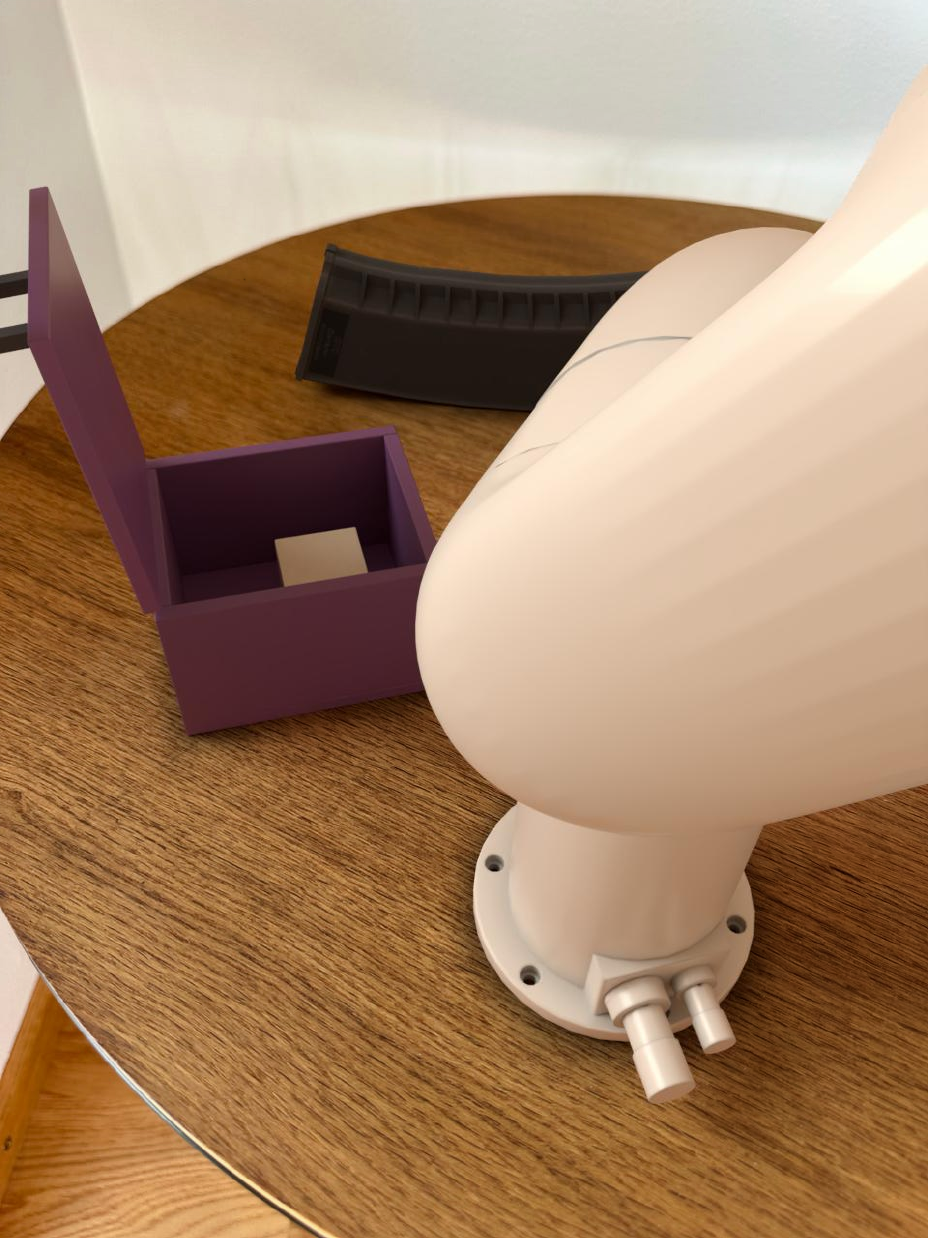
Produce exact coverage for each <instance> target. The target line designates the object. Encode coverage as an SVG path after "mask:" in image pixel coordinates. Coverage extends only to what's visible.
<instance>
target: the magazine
mask: <svg viewBox="0 0 928 1238" xmlns="http://www.w3.org/2000/svg"><path fill="white" fill-rule="evenodd" d="M323 256H324V260H323V264H322V268H321V272H320V276H319V279H318V283H317V287H316V290H315V295H314V299H313V303H312V308H311V312H310V316H309V319H308V324H307V327H306V332H305V335H304V336H305V337H304V341H303V344H302V348H301V352H300V355H299V358H298V361H297V364H296V366H295V367H296V368H295V372H294V375H295V376H294V380H295V381H298V382H303V381H308V382H309V381H310V382H315V383H321V384H325V385H330V386H335V387H336V386H337V387H343V388H347V389H352V390H357V391H364V392H370V393H375V394H379V395H385V396H391V397H395V398H402V399H407V400H415V401H421V402H428V403H435V404H443V405H451V406H459V407H468V408H479V409H480V408H481V409H490V410H504V411H505V410H506V411H519V412H532V411H533V410H534V409H535V407H536V404H537V403H538V401H539V400H540V399H541V397H542V396H543V395H544V393H545V392H546V390H547V389H548V388H549V386H550V385H551V384H552V382H553V381H554V380H555V378H556V377H557V376H558V374H559V373H560V372H561V371H562V369H563V368H564V367H565V365H566V364H567V363H568V362H569V360H570V359H571V358H572V356H573V355H574V354H575V352H576V351H577V350H578V349H579V347H580V346H581V345H582V343H583V342H584V340H585V339H586V338H587V336H588V335H589V334H590V332H591V331H592V330H593V329H594V328H595V326H596V325H597V324H598V323H599V321H600V320H601V319H602V318H603V317H604V315H605V314H606V313H607V312H608V311H609V310H610V308H611V307H612V306H613V305H614V304H615V303H616V302H617V301H618V300H619V298H620V297H621V296H622V295H624V294H625V293H626V292H627V291H628V290H629V289H630V288H631V287H632V286H633V285H634V284H635V283H636V282H637V281H638V280H639V279H640V278H642V277H643V276H644V275H645V274H647V273H648V272H649V271H650V270H651V269H649V270H641V271H630V272H629V271H628V272H620V273H605V274H604V273H603V274H590V275H589V274H588V275H523V274H522V275H519V274H501V273H491V272H482V271H481V272H480V271H471V270H469V271H468V270H461V269H460V270H459V269H452V268H441V267H430V266H421V265H415V264H414V265H413V264H409V263H402V262H395V261H391V260H386V259H381V258H377V257H373V256H368V255H366V254H361V253H358V252H355V251H351V250H348V249H345V248H341V247H338V245H337V244H334V243H331V242H329V243H327V244H326V248H325V250H324V255H323Z"/></svg>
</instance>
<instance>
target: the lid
mask: <svg viewBox="0 0 928 1238" xmlns="http://www.w3.org/2000/svg"><path fill="white" fill-rule="evenodd" d="M27 247H28V248H27V249H28V253H27V255H28V257H27V259H28V263H27V269H26V270H21V271H16V272H15V271H14V272H10V273H5V274H4V273H3V274H0V300H2V299H7V298H13V297H18V296H23V295H27V322H25V323H19V324H14V325H9V326H5V327H0V355H2V354H7V353H8V354H9V353H13V352H17V351H22V350H27V349H29V350H30V352H31V355H32V357H33V359H34V362H35V364H36V367H37V369H38V371H39V374H40V376H41V378H42V380H43V383H44V385H45V388H46V389H47V392H48V394H49V397H50V399H51V401H52V405H53V407H54V408H55V411H56V413H57V416H58V418H59V420H60V423H61V426H62V427H63V429H64V432H65V435H66V437H67V439H68V441H69V443H70V446H71V448H72V451H73V453H74V456H75V458H76V460H77V462H78V464H79V467H80V469H81V472H82V474H83V476H84V478H85V481H86V483H87V485H88V488H89V491H90V492H91V495H92V497H93V500H94V502H95V504H96V507H97V508H98V511H99V513H100V516H101V518H102V520H103V523H104V525H105V528H106V530H107V532H108V535H109V537H110V540H111V541H112V544H113V546H114V548H115V550H116V553H117V555H118V559H119V560H120V562H121V564H122V567H123V570H124V571H125V574H126V576H127V579H128V581H129V583H130V586H131V588H132V591H133V593H134V595H135V598H136V599H137V602H138V605H139V606H140V610H141V611H142V614H143V615H145V616H146V615H151V614H154V613H156V612H160V611H161V602H160V593H159V583H158V573H157V564H156V554H155V545H154V535H153V526H152V516H151V507H150V497H149V487H148V478H147V468H146V460H147V459H146V452H145V448H144V446H143V443H142V440H141V438H140V435H139V431H138V430H137V426H136V424H135V421H134V418H133V416H132V412H131V410H130V407H129V404H128V402H127V399H126V396H125V394H124V390H123V387H122V386H121V382H120V380H119V377H118V375H117V372H116V369H115V366H114V364H113V361H112V358H111V356H110V352H109V350H108V347H107V344H106V341H105V339H104V336H103V333H102V330H101V328H100V325H99V322H98V320H97V316H96V314H95V311H94V309H93V306H92V303H91V301H90V297H89V295H88V293H87V289H86V287H85V284H84V281H83V279H82V275H81V273H80V270H79V267H78V264H77V262H76V259H75V256H74V254H73V251H72V249H71V245H70V243H69V240H68V238H67V235H66V232H65V230H64V226H63V224H62V221H61V218H60V215H59V212H58V210H57V207H56V205H55V202H54V199H53V196H52V194H51V190H50V189H49V187H48V186H47V185H46V186H41V187H40V186H39V187H34V188H30V189H28V245H27Z"/></svg>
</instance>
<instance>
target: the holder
mask: <svg viewBox="0 0 928 1238" xmlns="http://www.w3.org/2000/svg"><path fill="white" fill-rule="evenodd" d="M146 468H147V478H148V487H149V497H150V507H151V516H152V526H153V535H154V545H155V554H156V564H157V573H158V583H159V593H160V602H161V611H160V612H156V613H153V614H154V623H155V626H156V629H157V630H156V631H157V633H158V635H159V636H158V637H159V640H160V644H161V647H162V651H163V654H164V658H165V662H166V666H167V669H168V672H169V676H170V680H171V685H172V687H173V691H174V694H175V697H176V701H177V705H178V709H179V712H180V716H181V719H182V723H183V726H184V731H185V733H186V736H189V737H190V736H194V735H199V734H204V733H209V732H215V731H220V730H225V729H230V728H236V727H240V726H245V725H253V724H256V723H262V722H267V721H272V720H278V719H283V718H288V717H294V716H299V715H304V714H309V713H315V712H320V711H325V710H329V709H330V710H331V709H335V708H340V707H346V706H351V705H356V704H360V703H366V702H371V701H377V700H382V699H388V698H393V697H399V696H402V695H403V696H404V695H408V694H414V693H418V692H426V690H425V687H424V684H423V681H422V678H421V673H420V669H419V664H418V659H417V651H416V639H415V622H416V610H417V601H418V595H419V590H420V585H421V582H422V579H423V576H424V573H425V569H426V566H427V564H428V561H429V559H430V557H431V554H432V552H433V550H434V548H435V546H436V544H437V542H438V541H437V539H436V536H435V534H434V531H433V528H432V526H431V522H430V520H429V516H428V514H427V512H426V509H425V506H424V502H423V500H422V497H421V494H420V491H419V489H418V486H417V483H416V481H415V478H414V475H413V472H412V470H411V467H410V463H409V461H408V458H407V456H406V453H405V450H404V447H403V444H402V442H401V438H400V436H399V434H398V431H397V428H396V426H395V424H393V425H385V426H377V427H371V428H363V429H357V430H349V431H342V432H341V431H340V432H336V433H329V434H321V435H315V436H307V437H306V436H305V437H299V438H293V439H286V440H277V441H272V442H264V443H257V444H251V445H243V446H236V447H229V448H222V449H215V450H210V451H200V452H194V453H187V454H186V453H185V454H180V455H173V456H172V455H171V456H166V457H158V458H152V459H146ZM352 527H355V528H356V531H357V535H358V538H359V542H360V545H361V549H362V552H363V556H364V559H365V563H366V566H367V569H368V573H363V574H357V575H351V576H345V577H339V578H334V579H328V580H322V581H316V582H310V583H304V584H298V585H292V586H286V587H281V583H280V576H279V569H278V562H277V556H276V549H275V542H274V541H275V540H276V539H283V538H289V537H295V536H301V535H308V534H314V533H320V532H327V531H333V530H339V529H346V528H352Z"/></svg>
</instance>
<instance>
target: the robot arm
mask: <svg viewBox="0 0 928 1238" xmlns="http://www.w3.org/2000/svg"><path fill="white" fill-rule="evenodd" d="M649 270H650V271H649ZM649 270H648V271H649V272H648V273H647V274H645V275H644V276H643V277H642V278H640V279H639V280H638V281H637V282H636V283H635V284H634V285H633V286H632V287H631V288H630V289H629V290H628V291H627V292H626V293H625V294H624V295H622V296H621V297H620V298H619V300H618V301H617V302H616V303H615V304H614V305H613V306H612V307H611V308H610V310H609V311H608V312H607V313H606V314H605V315H604V317H603V318H602V319H601V320H600V321H599V323H598V324H597V325H596V326H595V328H594V329H593V330H592V331H591V332H590V334H589V335H588V336H587V338H586V339H585V340H584V342H583V343H582V345H581V346H580V347H579V349H578V350H577V351H576V352H575V354H574V355H573V356H572V358H571V359H570V360H569V362H568V363H567V364H566V365H565V367H564V368H563V369H562V371H561V372H560V373H559V374H558V376H557V377H556V378H555V380H554V381H553V382H552V384H551V385H550V386H549V388H548V389H547V390H546V392H545V393H544V395H543V396H542V397H541V399H540V400H539V401H538V403H537V404H536V407H535V409H534V410H533V411H531V413H530V414H529V415H528V416H527V417H526V419H525V420H524V422H523V423H522V424H521V425H520V426H519V428H518V429H517V431H516V432H515V433H514V435H512V437H511V439H510V440H509V441H508V442H507V444H506V445H505V446H504V447H503V448H502V450H501V451H500V453H499V454H498V456H497V457H496V458H495V459H494V461H493V462H492V463H491V465H490V466H489V467H488V468H487V470H486V471H485V472H484V474H483V475H482V476H481V478H479V480H478V481H477V482H476V484H475V486H473V488H472V489H471V492H470V493H469V494H468V496H467V497H466V499H465V500H464V501H463V502H462V503H461V505H460V507H459V508H458V509H457V511H456V512H455V514H454V515H453V517H451V519H450V521H449V522H448V524H447V525H446V527H445V529H444V530H443V532H442V533H441V535H440V537H439V539H438V541H436V542H437V544H436V546H435V548H434V550H433V552H432V554H431V557H430V559H429V561H428V564H427V566H426V569H425V573H424V576H423V579H422V582H421V585H420V590H419V595H418V601H417V610H416V622H415V639H416V651H417V659H418V664H419V669H420V673H421V678H422V681H423V684H424V687H425V693H426V697H427V699H428V701H429V703H430V706H431V709H432V711H433V713H434V715H435V717H436V719H437V721H438V723H439V724H440V726H441V728H442V730H443V732H444V734H446V736H447V738H448V739H449V741H450V742H451V743H452V745H453V746H454V748H455V749H456V750H457V751H458V752H459V753H460V755H461V756H462V757H463V758H464V760H465V761H466V762H467V763H468V764H469V765H470V766H471V767H472V768H473V769H474V770H475V771H476V772H477V773H478V774H479V775H480V776H482V777H483V778H484V779H486V780H487V781H488V782H489V783H491V784H492V785H493V786H494V787H496V788H497V789H498V790H499V791H501V792H503V793H504V794H506V795H507V796H509V797H511V799H514V800H515V801H516V804H515V805H514V806H512V807H511V808H510V809H509V810H508V811H507V812H506V813H505V814H504V815H503V816H502V817H501V818H500V820H498V821H497V823H495V825H494V827H493V829H492V830H491V831H490V833H489V835H488V836H487V838H486V840H485V842H484V843H483V845H482V847H481V850H480V852H479V855H478V858H477V861H476V865H475V871H474V873H475V874H474V881H473V887H472V893H473V894H472V895H473V896H472V912H473V917H474V923H475V929H476V933H477V937H478V940H479V941H480V944H481V947H482V949H483V952H484V953H485V954H484V955H485V956H486V959H487V961H488V962H489V964H490V965H491V967H492V968H493V970H494V971H495V973H496V975H497V976H498V977H499V979H500V981H501V982H502V984H504V985H505V986H506V987H507V988H508V989H509V991H510V992H511V993H513V995H514V996H515V997H516V998H517V999H518V1000H519V1001H520V1002H521V1003H522V1004H523V1005H524V1006H527V1007H528V1008H529V1009H530V1010H532V1011H534V1013H536V1014H538V1015H539V1016H540V1017H541V1018H543V1019H545V1020H546V1021H548V1022H550V1023H553V1024H555V1025H557V1026H559V1027H561V1028H563V1029H565V1030H567V1031H569V1032H570V1033H571V1032H572V1033H574V1034H575V1033H576V1034H578V1035H579V1034H580V1035H583V1036H586V1037H590V1038H594V1039H598V1040H604V1041H615V1042H627V1043H628V1042H629V1043H630V1047H631V1048H632V1051H633V1054H632V1061H633V1062H634V1066H635V1068H636V1071H637V1074H638V1077H639V1079H640V1082H641V1085H642V1088H643V1090H644V1094H645V1095H646V1099H647V1101H648V1103H650V1104H652V1105H658V1104H659V1105H661V1104H665V1103H669V1102H672V1101H675V1100H677V1099H680V1098H682V1097H684V1096H686V1095H688V1094H690V1093H691V1092H692V1091H693V1090H694V1089H696V1087H697V1085H696V1081H695V1079H694V1077H693V1074H692V1072H691V1068H690V1066H689V1064H688V1062H687V1058H686V1056H685V1054H684V1052H683V1049H682V1047H681V1044H680V1041H679V1039H678V1038H676V1037H675V1033H677V1032H680V1031H683V1030H685V1029H687V1028H689V1027H690V1026H693V1029H694V1031H695V1034H696V1036H697V1040H698V1042H699V1044H700V1046H701V1048H702V1049H701V1050H702V1051H703V1053H704V1054H705V1055H713V1054H719V1053H721V1052H723V1051H726V1050H728V1049H730V1048H731V1047H733V1046H734V1045H735V1044H736V1043H737V1039H736V1036H735V1035H734V1032H733V1030H732V1027H731V1025H730V1022H729V1020H728V1018H727V1015H726V1013H725V1011H724V1009H723V1008H721V1006H720V1004H721V1003H723V1001H724V1000H726V997H727V996H728V995H729V993H730V992H731V990H732V989H733V988H734V986H735V984H736V983H737V981H739V978H740V976H741V973H742V972H743V969H744V967H745V965H746V964H747V961H748V959H749V955H750V951H751V947H752V944H753V940H754V937H755V936H754V935H755V934H754V933H755V911H756V910H755V906H754V900H753V895H752V888H751V884H750V882H749V879H748V877H747V875H746V872H745V869H746V867H747V865H748V863H749V860H750V858H751V856H752V853H753V851H754V849H755V846H756V844H757V841H758V840H759V837H760V835H761V832H762V830H763V828H764V826H766V825H771V824H774V823H779V822H782V821H787V820H791V819H795V818H799V817H804V816H807V815H812V814H815V813H820V812H824V811H827V810H831V809H835V808H839V807H843V806H847V805H850V804H855V803H858V802H862V801H867V800H870V799H874V798H878V797H883V796H887V795H890V794H894V793H898V792H902V791H905V790H909V789H913V788H917V787H920V786H924V785H928V61H927V62H926V63H925V65H924V66H922V68H921V70H920V71H919V72H918V74H917V75H916V77H915V78H914V79H913V81H912V82H911V83H910V85H909V86H908V88H907V90H906V91H905V93H904V94H903V96H902V97H901V99H900V100H899V102H898V104H897V106H896V108H895V109H894V111H893V113H892V115H891V117H890V119H889V120H888V122H887V123H886V125H885V127H884V129H883V131H882V133H881V135H880V136H879V138H878V140H877V141H876V143H875V144H874V147H873V148H872V150H871V152H870V154H869V155H868V157H867V159H866V161H865V162H864V164H863V165H862V167H861V169H860V170H859V171H858V173H857V175H856V177H855V179H854V181H853V182H852V184H851V186H850V188H849V190H848V191H847V193H846V195H845V196H844V199H843V200H842V202H841V203H840V204H839V206H838V207H837V209H835V211H834V212H833V213H832V215H831V216H830V217H829V218H828V219H827V220H826V221H825V223H823V224H822V226H820V227H819V228H818V230H817V231H816V232H815V233H812V232H810V231H806V230H800V229H795V228H789V227H774V226H773V227H772V226H771V227H770V226H762V227H751V228H750V227H749V228H742V229H741V228H740V229H737V230H732V231H728V232H725V233H720V234H716V235H713V236H710V237H708V238H704V239H702V240H699V241H697V242H694V243H692V244H690V245H689V246H687V247H685V248H683V249H680V250H678V251H676V252H675V253H674V254H672V255H671V256H669V257H667V258H666V259H664V260H663V261H661V262H659V263H658V264H657V265H655V266H654V267H653V268H651V269H649ZM492 870H497V871H492ZM732 930H733V931H732ZM734 931H735V932H734ZM526 980H531V981H532V982H533V984H527V983H525V981H526Z"/></svg>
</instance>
